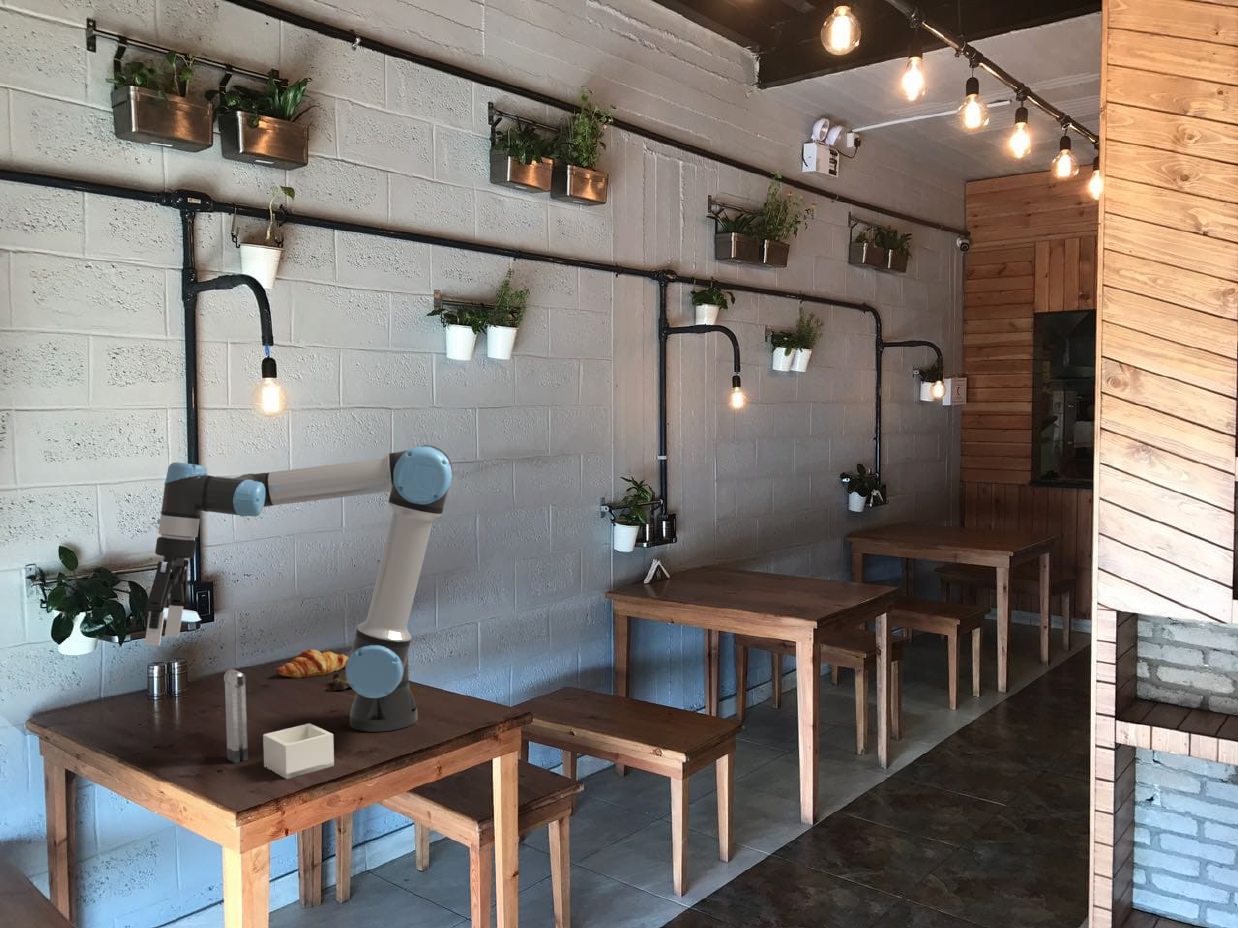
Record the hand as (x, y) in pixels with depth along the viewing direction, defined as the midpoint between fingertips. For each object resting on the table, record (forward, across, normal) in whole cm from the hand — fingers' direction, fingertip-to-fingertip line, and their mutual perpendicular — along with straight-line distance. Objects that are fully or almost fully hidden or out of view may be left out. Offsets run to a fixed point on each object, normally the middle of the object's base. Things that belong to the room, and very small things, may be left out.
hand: (162, 640), depth 205 cm
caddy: (+21, +8, +31) cm, 38 cm away
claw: (+15, -47, +37) cm, 62 cm away
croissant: (+15, -67, +24) cm, 72 cm away
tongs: (+22, +1, +18) cm, 29 cm away
